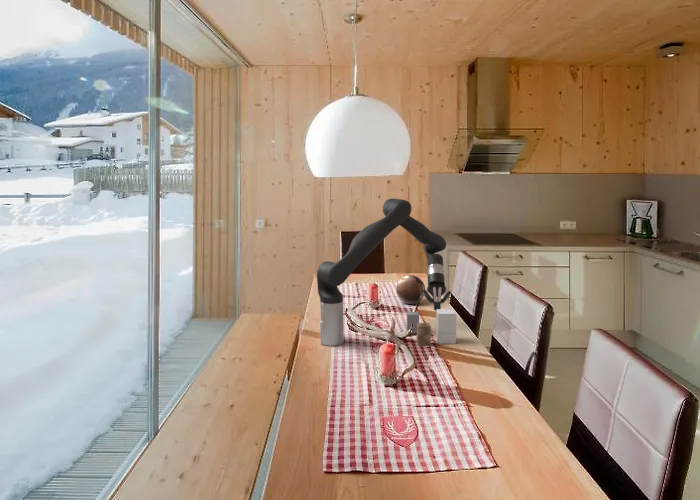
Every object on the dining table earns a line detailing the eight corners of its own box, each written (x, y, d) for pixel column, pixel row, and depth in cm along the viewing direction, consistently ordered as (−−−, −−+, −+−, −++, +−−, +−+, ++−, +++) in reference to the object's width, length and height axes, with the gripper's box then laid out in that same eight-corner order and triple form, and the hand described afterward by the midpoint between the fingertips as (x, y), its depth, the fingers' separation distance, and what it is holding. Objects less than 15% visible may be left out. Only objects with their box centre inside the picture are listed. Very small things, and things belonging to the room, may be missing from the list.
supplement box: (453, 338, 220) (454, 308, 218) (456, 344, 212) (456, 313, 211) (435, 338, 220) (436, 308, 218) (437, 344, 213) (438, 313, 211)
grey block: (407, 333, 228) (407, 314, 227) (406, 329, 233) (406, 311, 232) (419, 332, 228) (419, 314, 227) (417, 329, 233) (418, 311, 231)
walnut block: (418, 345, 211) (418, 326, 210) (416, 341, 216) (417, 322, 215) (430, 345, 211) (430, 326, 210) (429, 341, 216) (429, 322, 215)
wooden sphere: (390, 302, 281) (390, 274, 278) (414, 298, 288) (414, 271, 285) (406, 308, 268) (406, 279, 265) (430, 304, 275) (431, 276, 272)
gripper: (422, 271, 237) (423, 306, 227) (451, 272, 236) (454, 307, 227) (420, 279, 243) (421, 314, 234) (449, 280, 242) (451, 315, 233)
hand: (437, 310), depth 230 cm, fingers closed
